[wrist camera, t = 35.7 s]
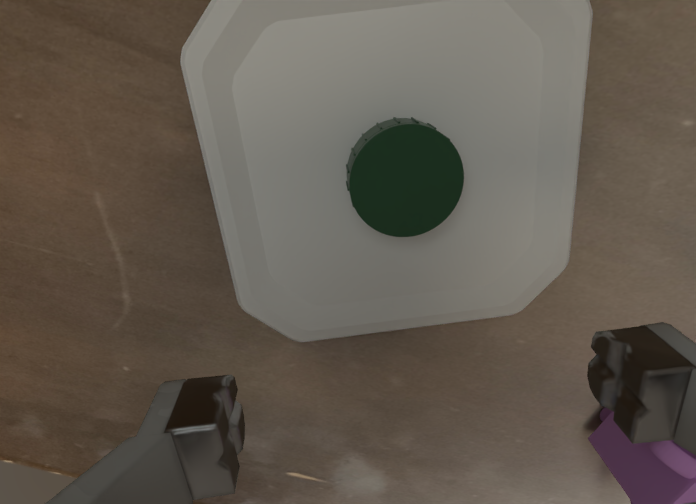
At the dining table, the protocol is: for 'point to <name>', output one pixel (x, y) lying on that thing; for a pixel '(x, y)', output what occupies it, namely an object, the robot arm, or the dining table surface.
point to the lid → (404, 177)
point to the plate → (362, 114)
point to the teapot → (646, 465)
